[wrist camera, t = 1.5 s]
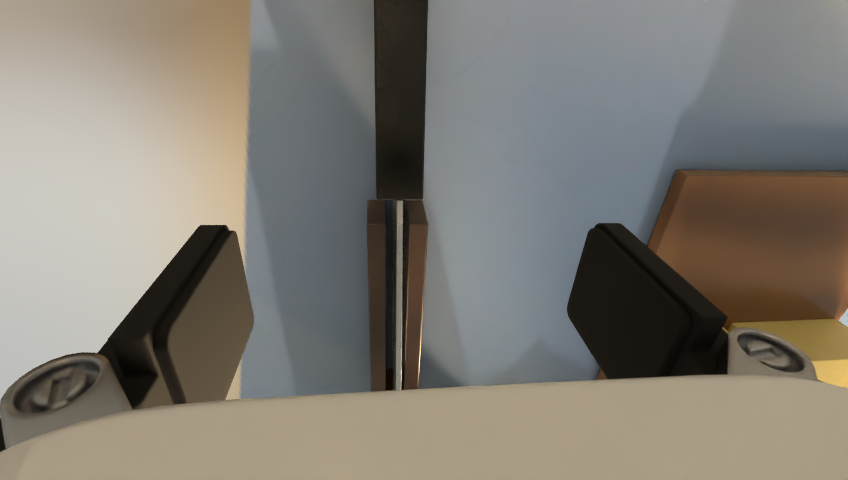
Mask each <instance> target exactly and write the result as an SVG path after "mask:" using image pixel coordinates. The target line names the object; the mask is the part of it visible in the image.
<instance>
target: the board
mask: <svg viewBox="0 0 848 480" xmlns="http://www.w3.org/2000/svg"><path fill="white" fill-rule="evenodd" d="M647 247H648V248H649V249H651V250H652V251H653V252H654V253H655V254H656V255H658V256H659V257H660V258H661V259H662V260H663V261H664V262H666V263H667V264H668V265H669V266H670V267H671V268H672V269H674V270H675V271H676V272H677V273H678V274H679V275H680V276H682V277H683V278H684V279H685V280H686V281H687V282H688V283H690V284H691V285H692V286H693V287H694V288H695V289H696V290H698V291H699V292H700V293H701V294H702V295H703V296H704V297H706V298H707V299H708V300H709V301H710V302H711V303H712V304H714V305H715V306H716V307H717V308H718V309H719V310H720V311H722V312H723V313H724V314H725V315H726V316H727V317H728V319H727V320H726V322H725V324H724V326H723V327H724V328H725V329H726V330H728V329H729V327H730V325H731V323H742V322H767V321H792V320H817V319H836V320H839V319H840V318H841V316H842V315H843V314H844V312H845V311H846V310H847V308H848V171H742V170H676V173H675V175H674V178H673V180H672V183H671V186H670V188H669V191H668V194H667V196H666V199H665V201H664V204H663V207H662V209H661V212H660V214H659V217H658V220H657V222H656V225H655V228H654V230H653V233H652V235H651V238H650V241H649V243H648V246H647ZM605 379H607V378H606V376H605V374H604V373H603V371H602V370H601V369H600V371H599V374H598V377H597V379H596V380H605Z"/></svg>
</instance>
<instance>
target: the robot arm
mask: <svg viewBox="0 0 848 480" xmlns="http://www.w3.org/2000/svg"><path fill="white" fill-rule="evenodd" d="M567 313H568V317H569V319H570V320H571V322H572V323H573V325H574V327H575V328H576V330H577V331H578V333H579V335H580V336H581V338H582V339H583V341H584V342H585V344H586V346H587V347H588V349H589V350H590V352H591V354H592V355H593V357H594V358H595V360H596V362H597V363H598V365H599V366H600V368H601V370H602V371H603V373H604V374H605V376H606V378H607V379H605V380H584V381H564V382H544V383H525V384H505V385H486V386H467V387H448V388H429V389H411V390H393V391H375V392H357V393H340V394H323V395H305V396H288V397H271V398H253V399H236V400H225V399H226V396H227V393H228V391H229V388H230V385H231V383H232V380H233V378H234V375H235V373H236V370H237V367H238V365H239V362H240V360H241V357H242V354H243V352H244V349H245V346H246V344H247V341H248V339H249V336H250V333H251V331H252V328H253V322H254V316H253V310H252V305H251V300H250V295H249V290H248V286H247V281H246V276H245V271H244V266H243V261H242V256H241V252H240V247H239V242H238V237H237V234H236V232H235V231H229V229H228V227H227V226H226V225H200V226H199V227H198V228H197V229H196V231H195V232H194V233H193V234H192V236H191V237H190V238H189V239H188V241H187V242H186V243H185V244H184V245H183V247H182V248H181V249H180V250H179V252H178V253H177V254H176V255H175V257H174V258H173V259H172V260H171V262H170V263H169V264H168V265H167V267H166V268H165V269H164V270H163V272H162V273H161V274H160V275H159V277H158V278H157V279H156V280H155V281H154V283H153V284H152V285H151V287H150V288H149V289H148V290H147V291H146V293H145V294H144V295H143V296H142V297H141V299H140V300H139V301H138V303H137V304H136V305H135V306H134V307H133V309H132V310H131V311H130V312H129V314H128V315H127V316H126V317H125V318H124V320H123V321H122V322H121V323H120V325H119V326H118V327H117V328H116V330H115V331H114V332H113V333H112V335H111V336H110V337H109V338H108V341H107V342H106V343H105V344H104V346H103V347H102V348H101V350H100V351H99V352H98V353H76V354H71V355H65V356H62V357H59V358H56V359H53V360H51V361H48V362H46V363H44V364H42V365H40V366H38V367H36V368H34V369H32V370H31V371H29V372H28V373H26V374H25V375H23V376H22V377H20V378H19V379H18V380H17V381H16V382H15V383H14V384H13V385H11V386H10V387H9V388H8V390H7V391H6V393H5V394H4V396H3V397H2V399H1V401H0V480H848V388H845V387H841V386H836V385H832V384H828V383H825V382H822V381H820V380H818V379H817V375H816V370H815V367H814V365H813V363H812V361H811V359H810V358H809V357H808V356H807V355H806V354H805V353H804V352H803V351H802V350H800V349H799V348H798V347H796V346H795V345H794V344H792V343H790V342H789V341H787V340H785V339H783V338H781V337H779V336H777V335H774V334H772V333H770V332H767V331H763V330H759V329H756V328H748V327H741V328H735V329H733V330H732V331H730V333H729V334H728V333H726V332H725V331H724V330H723V329H722V328H723V326H724V324H725V322H726V320H727V319H728V317H727V316H726V315H725V314H724V313H723V312H722V311H720V310H719V309H718V308H717V307H716V306H715V305H714V304H712V303H711V302H710V301H709V300H708V299H707V298H706V297H704V296H703V295H702V294H701V293H700V292H699V291H698V290H696V289H695V288H694V287H693V286H692V285H691V284H690V283H688V282H687V281H686V280H685V279H684V278H683V277H682V276H680V275H679V274H678V273H677V272H676V271H675V270H674V269H672V268H671V267H670V266H669V265H668V264H667V263H666V262H664V261H663V260H662V259H661V258H660V257H659V256H658V255H656V254H655V253H654V252H653V251H652V250H651V249H649V248H648V247H647V246H646V245H645V244H644V243H643V242H641V241H640V240H639V239H638V238H637V237H636V236H635V235H633V234H632V233H631V232H630V231H629V230H628V229H627V228H625V227H624V226H623V225H622V224H620V223H598V224H597V225H596V226H595V227H594V228H592V229H590V230H589V232H588V234H587V238H586V241H585V245H584V248H583V252H582V255H581V259H580V262H579V266H578V269H577V273H576V276H575V280H574V283H573V287H572V290H571V294H570V297H569V301H568V305H567Z"/></svg>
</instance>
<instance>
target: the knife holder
mask: <svg viewBox="0 0 848 480" xmlns="http://www.w3.org/2000/svg"><path fill="white" fill-rule="evenodd" d="M427 237H428V221H427V217H426V213H425V209H424V205H423V201H422V200H406V208H405V244H404V279H403V315H402V373H401V390H411V389H418V385H419V368H420V352H421V336H422V319H423V303H424V286H425V270H426V254H427ZM367 246H368V285H369V324H370V362H371V392H375V391H393V369H386V209H385V201H384V200H368V207H367Z"/></svg>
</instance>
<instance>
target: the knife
mask: <svg viewBox="0 0 848 480" xmlns="http://www.w3.org/2000/svg"><path fill="white" fill-rule="evenodd" d="M427 21H428V0H374V44H375V127H376V198H377V200H393V390H401V373H402V265H403V200H422V199H423V179H424V140H425V100H426V60H427Z"/></svg>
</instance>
